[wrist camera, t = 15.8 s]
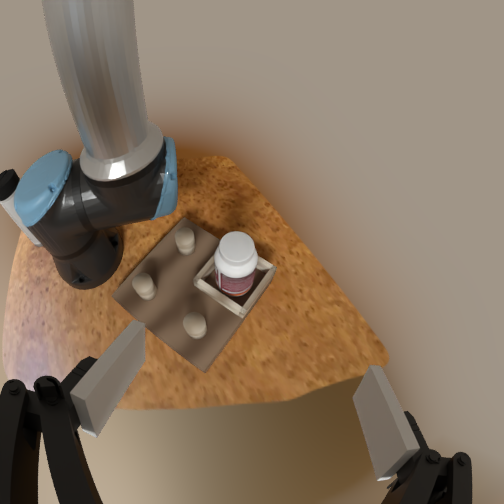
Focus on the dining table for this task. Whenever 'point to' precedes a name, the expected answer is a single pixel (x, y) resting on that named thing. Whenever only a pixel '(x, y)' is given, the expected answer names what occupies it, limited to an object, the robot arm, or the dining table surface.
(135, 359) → the robot arm
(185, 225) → the wooden organizer tray
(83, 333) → the dining table surface
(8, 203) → the travel mug
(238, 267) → the pill bottle
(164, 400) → the dining table surface
